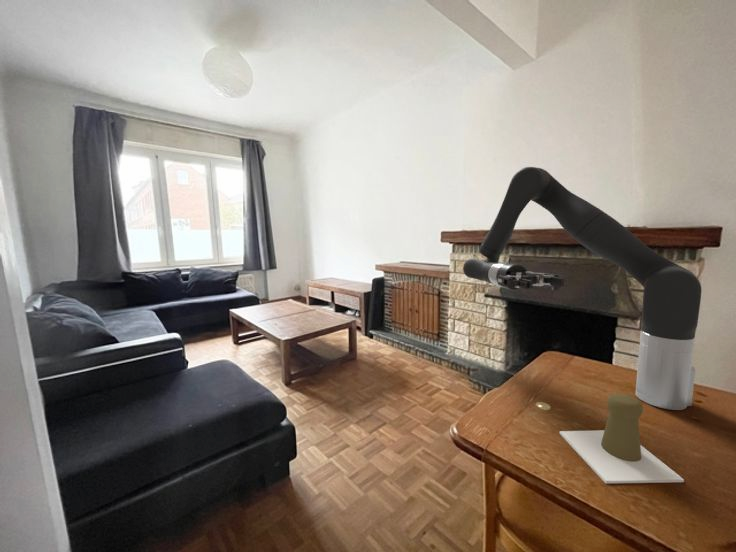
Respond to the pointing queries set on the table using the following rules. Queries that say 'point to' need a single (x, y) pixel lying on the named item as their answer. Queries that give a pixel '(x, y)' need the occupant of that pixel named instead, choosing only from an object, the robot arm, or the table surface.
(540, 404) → the brass coin
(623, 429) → the cork
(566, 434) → the white mat
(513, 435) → the table surface
